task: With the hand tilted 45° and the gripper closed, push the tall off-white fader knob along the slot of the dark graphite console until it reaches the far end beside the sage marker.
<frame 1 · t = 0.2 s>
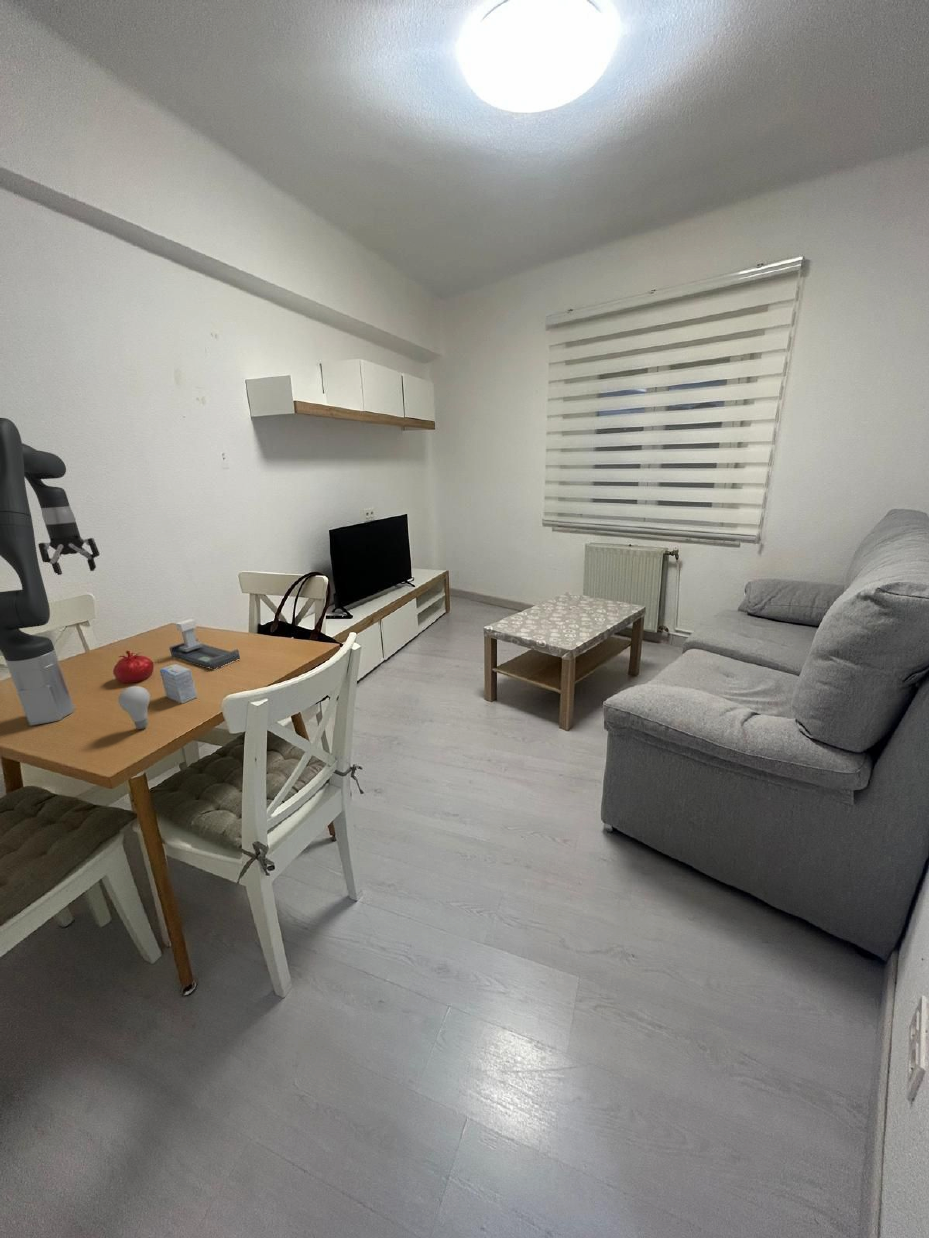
hand: (76, 572, 150), 29 cm above the table, tool pointing down, fingers open, 8 cm apart
pomegranate: (137, 679, 140), on the table
fader: (188, 634, 155), point 7 cm above the table, slide at 0.0 cm
lightbulb: (143, 729, 113), on the table
console: (205, 658, 154), on the table
medicine box: (182, 698, 128), on the table
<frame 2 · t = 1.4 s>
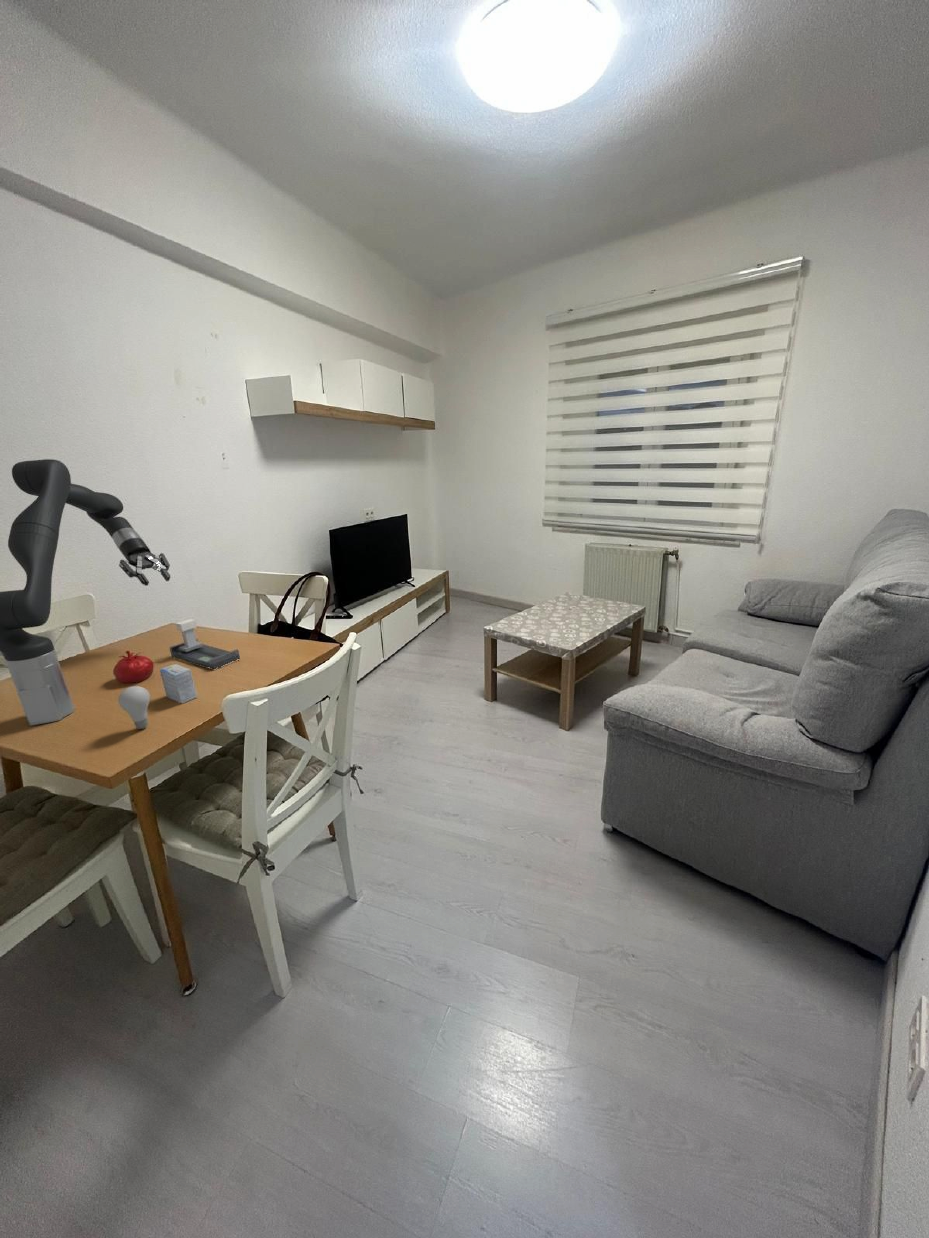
hand: (158, 581, 156), 24 cm above the table, tool tilted 45°, fingers open, 6 cm apart
nothing on the table moved.
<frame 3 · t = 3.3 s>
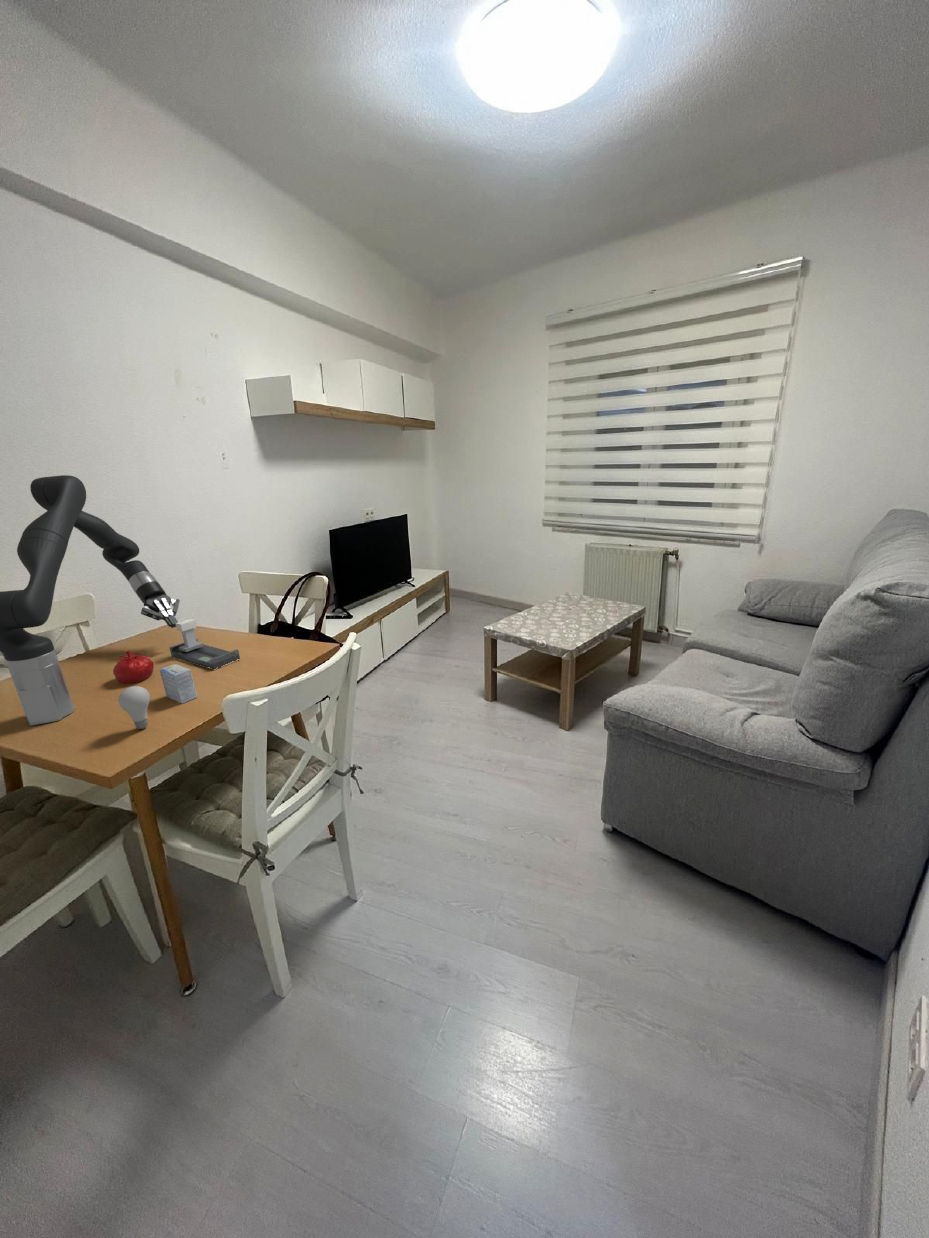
hand: (175, 626, 158), 9 cm above the table, tool tilted 45°, fingers closed
nothing on the table moved.
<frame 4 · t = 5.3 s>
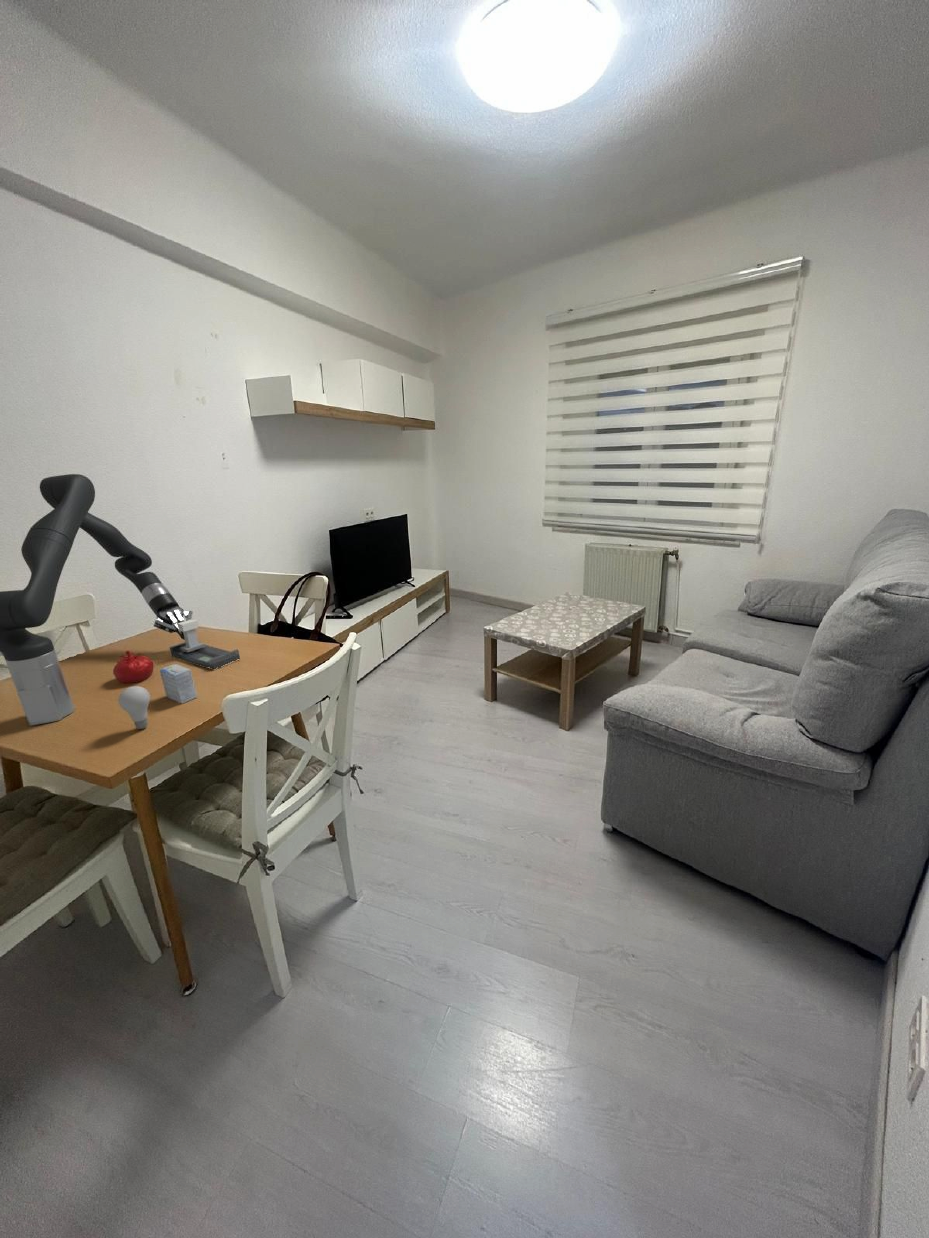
hand: (188, 638, 156), 6 cm above the table, tool tilted 45°, fingers closed
fader: (190, 635, 155), point 7 cm above the table, slide at 0.9 cm, touching gripper
everything else where it was.
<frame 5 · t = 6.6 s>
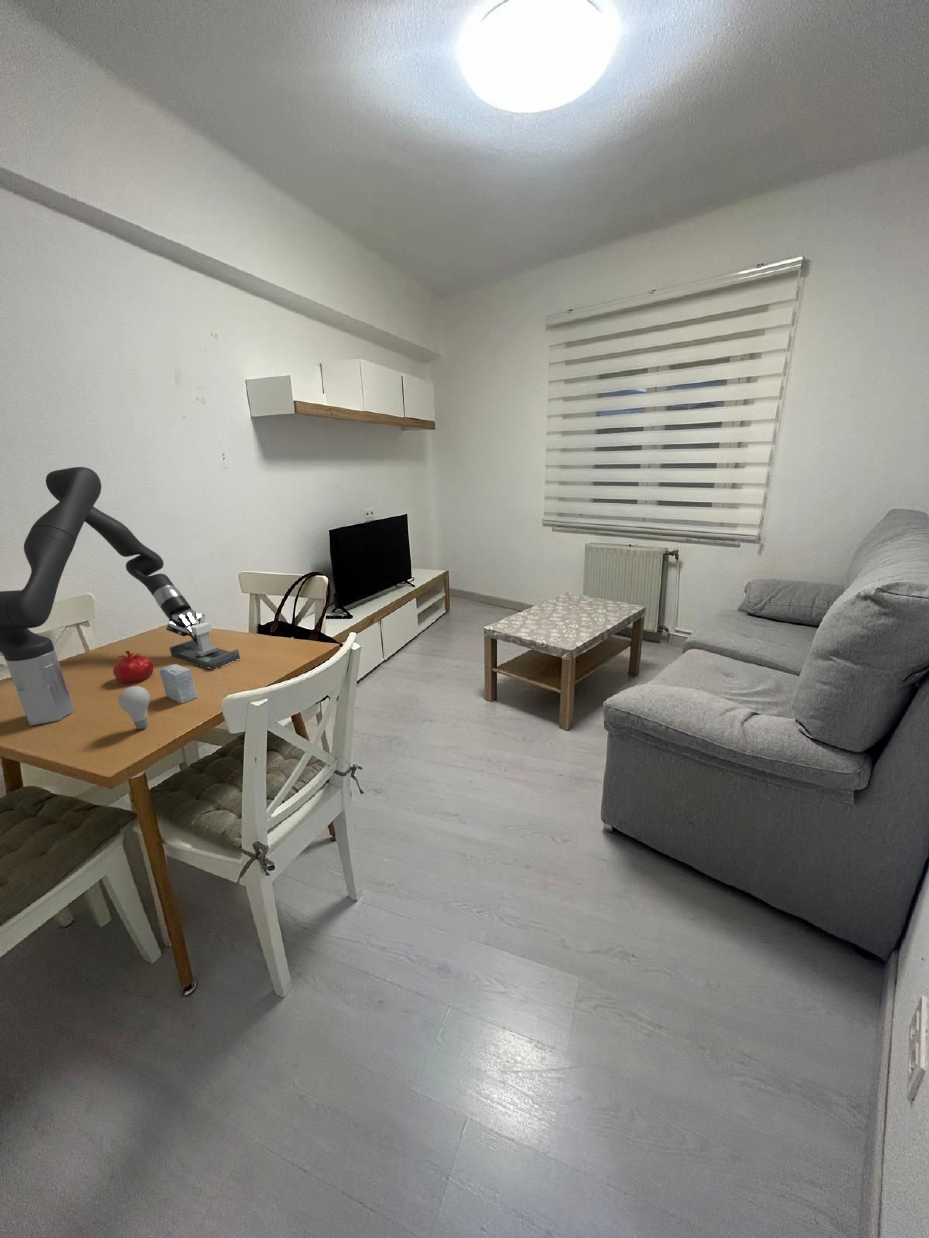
hand: (201, 642, 152), 6 cm above the table, tool tilted 45°, fingers closed
fader: (203, 638, 151), point 7 cm above the table, slide at 8.4 cm, touching gripper
everything else where it was.
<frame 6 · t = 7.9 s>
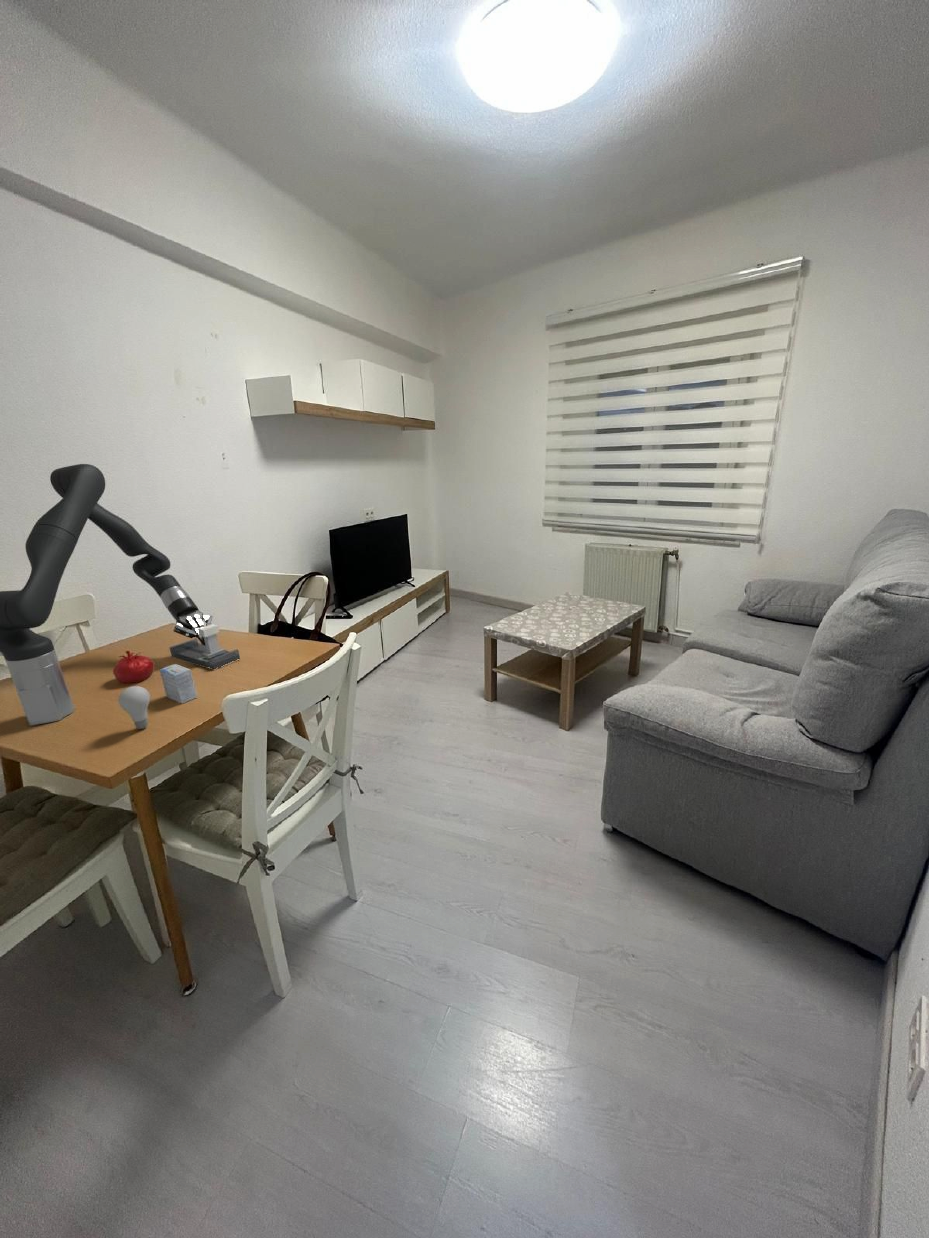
hand: (208, 644, 150), 6 cm above the table, tool tilted 45°, fingers closed
fader: (211, 640, 149), point 7 cm above the table, slide at 12.5 cm, touching gripper
everything else where it was.
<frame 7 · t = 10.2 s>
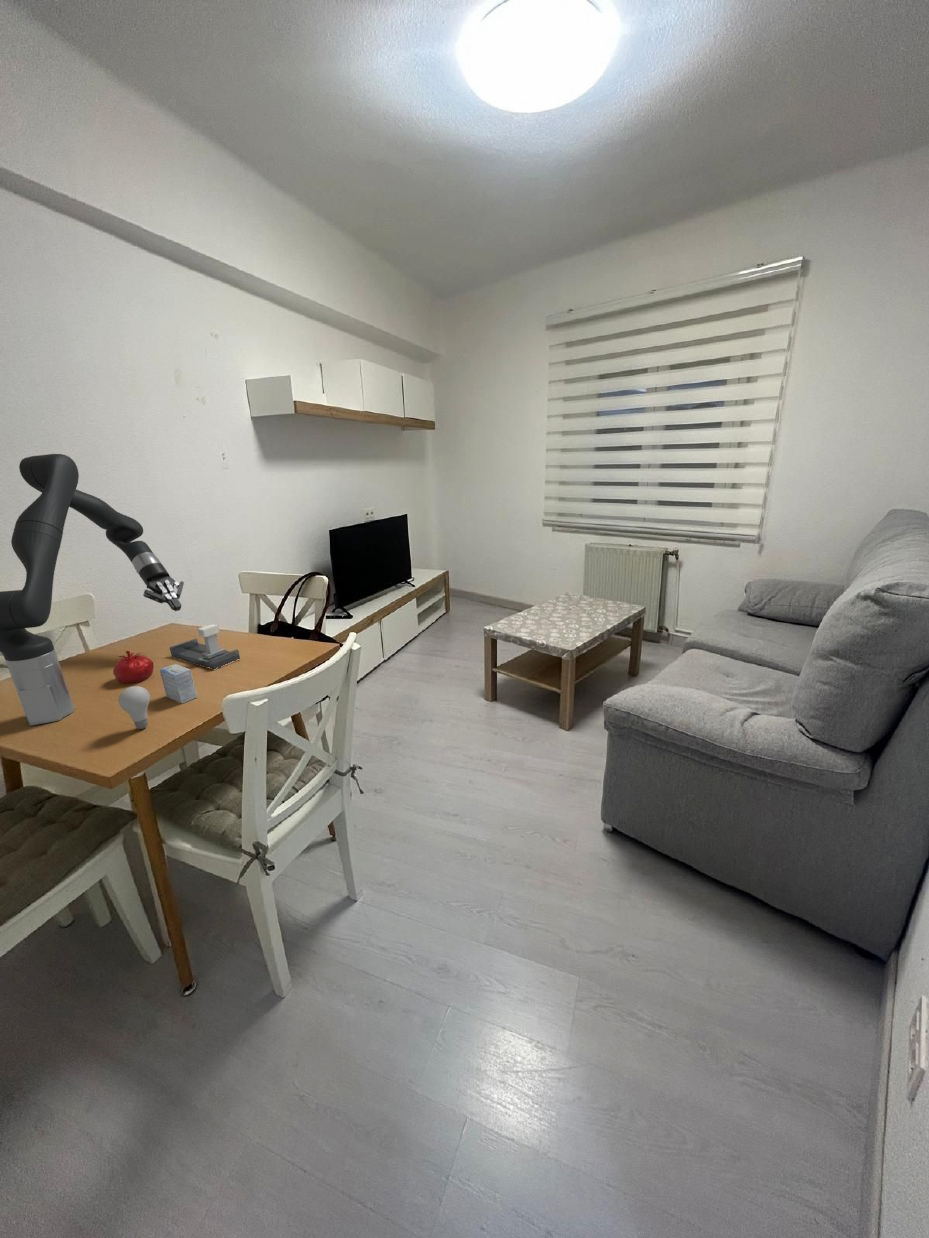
hand: (178, 609, 153), 16 cm above the table, tool tilted 45°, fingers closed
fader: (211, 640, 149), point 7 cm above the table, slide at 12.5 cm
everything else where it was.
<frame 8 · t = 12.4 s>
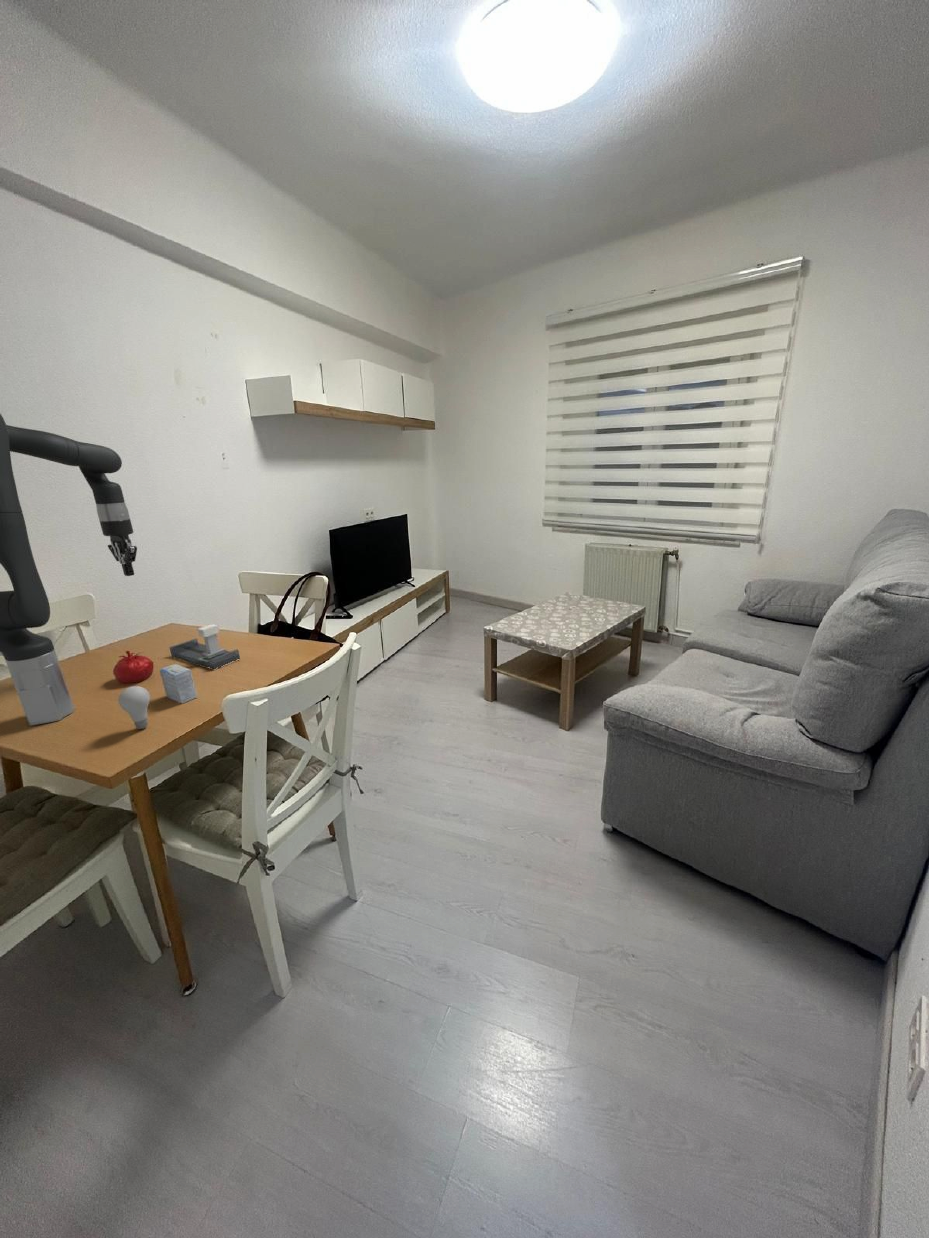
hand: (129, 575, 144), 29 cm above the table, tool pointing down, fingers closed
nothing on the table moved.
at the end: fader slide at 12.5 cm; medicine box moved 0.3 cm from its start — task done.
